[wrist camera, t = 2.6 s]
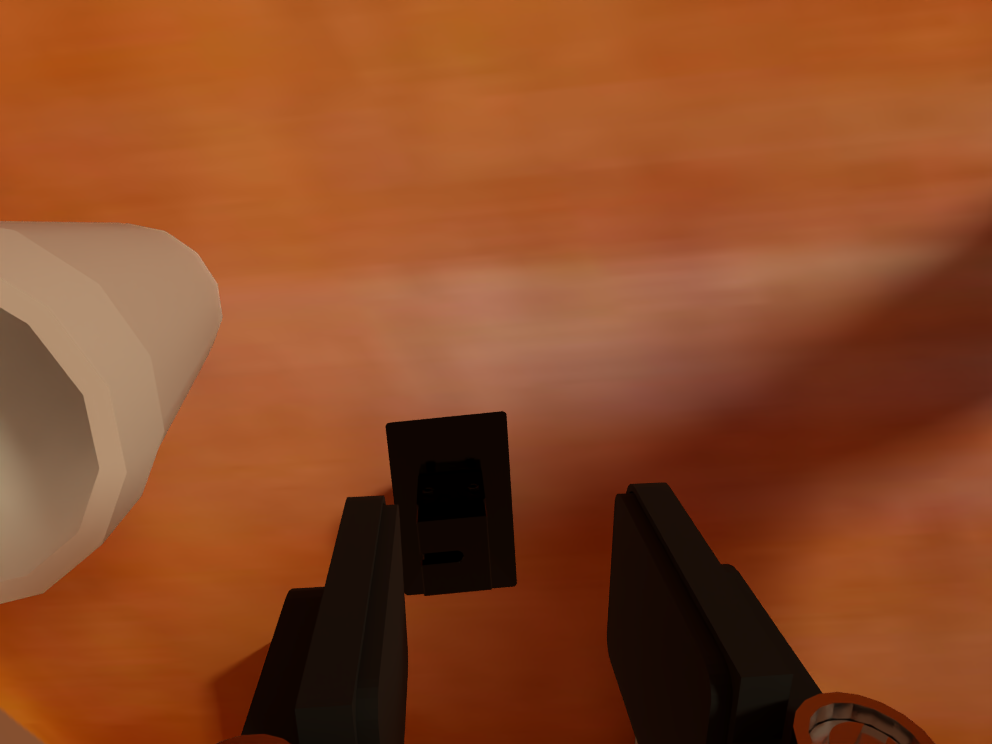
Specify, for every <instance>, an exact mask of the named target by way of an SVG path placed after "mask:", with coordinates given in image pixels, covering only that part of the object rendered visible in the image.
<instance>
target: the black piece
mask: <svg viewBox="0 0 992 744" xmlns="http://www.w3.org/2000/svg"><path fill="white" fill-rule="evenodd" d="M386 434H387V443H388V452H389V461H390V470H391V479H392V488H393V497H394V505H398V506H399V516H400V532H401V549H402V565H403V581H404V593H405V594H406V595H417V594H424V595H425V596H430V595H440V594H450V593H461V592H471V591H481V590H491V589H492V588H501V587H513V586H515V585H516V584H517V579H516V562H515V546H514V530H513V514H512V497H511V481H510V465H509V448H508V432H507V416H506V413H505V412H503V411H501V412H491V413H481V414H471V415H461V416H451V417H442V418H432V419H422V420H412V421H402V422H392V423H388V424H387V425H386Z"/></svg>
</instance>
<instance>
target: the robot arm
mask: <svg viewBox="0 0 992 744" xmlns="http://www.w3.org/2000/svg"><path fill="white" fill-rule="evenodd" d="M607 645H608V652H609V657H610V661H611V664H612V667H613V670H614V673H615V676H616V679H617V682H618V685H619V688H620V691H621V694H622V697H623V700H624V704H625V707H626V710H627V713H628V716H629V719H630V722H631V725H632V728H633V731H634V734H635V737H636V740H637V743H638V744H935V743H934V742H933V741H932V739H931V738H930V737H929V736H928V735H927V734H926V732H925V731H924V730H923V729H922V728H920V727H919V726H918V725H916V724H915V723H914V722H913V721H911V720H910V719H909V718H908V717H906V716H905V715H904V714H902V713H900V712H898V711H896V710H895V709H893V708H891V707H889V706H887V705H885V704H883V703H882V702H879V701H876V700H873V699H870V698H867V697H864V696H861V695H856V694H849V693H842V692H832V693H822V692H821V691H820V689H819V688H818V686H817V685H816V683H815V682H814V680H813V679H812V677H811V676H810V675H809V673H808V672H807V670H806V669H805V667H804V666H803V664H802V663H801V662H800V660H799V659H798V657H797V656H796V654H795V653H794V651H793V650H792V648H791V647H790V646H789V644H788V643H787V641H786V640H785V638H784V637H783V635H782V634H781V633H780V631H779V630H778V628H777V627H776V625H775V624H774V622H773V621H772V619H771V618H770V617H769V615H768V614H767V612H766V611H765V609H764V608H763V606H762V605H761V604H760V602H759V601H758V599H757V598H756V596H755V595H754V593H753V592H752V590H751V589H750V588H749V586H748V585H747V583H746V582H745V580H744V579H743V577H742V576H741V575H740V573H739V572H738V571H737V570H736V569H735V568H734V566H732V565H729V564H720V562H719V561H718V559H717V558H716V556H715V555H714V553H713V552H712V550H711V549H710V547H709V546H708V544H707V543H706V541H705V540H704V538H703V537H702V535H701V534H700V532H699V531H698V529H697V528H696V526H695V525H694V523H693V521H692V520H691V518H690V517H689V515H688V514H687V512H686V511H685V509H684V508H683V506H682V505H681V503H680V502H679V500H678V499H677V497H676V496H675V494H674V493H673V491H672V490H671V488H670V487H669V485H668V484H667V483H643V484H630V485H629V486H628V488H627V492H626V494H617V495H616V498H615V508H614V525H613V541H612V558H611V575H610V591H609V608H608V625H607ZM407 678H408V646H407V630H406V614H405V597H404V581H403V565H402V549H401V532H400V516H399V506H398V505H386V504H385V497H384V496H365V497H348V498H347V499H346V502H345V506H344V511H343V515H342V519H341V523H340V527H339V531H338V535H337V539H336V543H335V547H334V551H333V555H332V559H331V563H330V567H329V571H328V575H327V579H326V583H325V587H313V588H295V589H291V590H290V591H289V592H288V594H287V596H286V599H285V602H284V605H283V608H282V611H281V614H280V617H279V620H278V623H277V626H276V629H275V632H274V636H273V639H272V642H271V645H270V648H269V651H268V654H267V657H266V660H265V663H264V666H263V669H262V673H261V676H260V679H259V682H258V685H257V688H256V691H255V694H254V697H253V700H252V703H251V706H250V709H249V713H248V716H247V719H246V722H245V725H244V728H243V731H242V734H241V736H238V737H234V738H231V739H227V740H224V741H220V742H218V743H217V744H404V734H405V715H406V697H407Z"/></svg>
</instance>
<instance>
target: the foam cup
mask: <svg viewBox="0 0 992 744" xmlns="http://www.w3.org/2000/svg"><path fill="white" fill-rule="evenodd" d="M221 321H222V311H221V304H220V297H219V290H218V284H217V282H216V281H215V279H214V278H213V276H212V275H211V273H210V272H209V270H208V268H207V267H206V265H205V264H204V262H203V261H202V259H201V258H200V256H199V255H198V253H197V252H195V251H194V250H192V249H191V248H189V247H188V246H186V245H185V244H183V243H182V242H181V241H179V240H178V239H176V238H175V237H173V236H172V235H170V234H169V233H167V232H166V231H163V230H158V229H153V228H148V227H143V226H138V225H133V224H128V223H126V224H123V223H97V222H18V221H0V604H2V603H6V602H10V601H14V600H18V599H22V598H26V597H30V596H34V595H38V594H42V593H44V592H45V591H47V590H48V589H49V588H50V587H51V586H53V585H54V584H55V583H56V582H57V581H59V580H60V579H61V578H62V577H63V576H65V575H66V574H67V573H68V572H69V571H71V570H72V569H73V568H74V567H75V566H77V565H78V564H79V563H80V562H81V561H83V560H84V559H85V558H86V557H87V556H89V555H90V554H91V553H92V552H93V551H95V550H96V549H97V548H98V547H100V546H101V545H102V544H103V543H104V541H105V540H106V539H107V538H108V537H109V535H110V534H111V533H112V532H113V530H114V529H115V528H116V527H117V525H118V524H119V523H120V522H121V521H122V519H123V518H124V517H125V516H126V514H127V513H128V512H129V511H130V510H131V508H132V507H133V506H134V505H135V503H136V502H137V501H138V500H139V498H140V497H141V496H142V494H143V491H144V488H145V485H146V482H147V479H148V477H149V474H150V471H151V468H152V465H153V463H154V460H155V457H156V454H157V451H158V449H159V446H160V444H161V443H162V441H163V439H164V437H165V435H166V433H167V431H168V429H169V428H170V426H171V424H172V422H173V420H174V418H175V416H176V415H177V413H178V411H179V409H180V407H181V405H182V403H183V401H184V400H185V398H186V396H187V394H188V392H189V390H190V388H191V386H192V385H193V383H194V381H195V379H196V377H197V375H198V373H199V371H200V370H201V368H202V366H203V364H204V362H205V360H206V358H207V356H208V355H209V352H210V349H211V348H212V345H213V343H214V340H215V337H216V334H217V332H218V329H219V326H220V323H221Z"/></svg>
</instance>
